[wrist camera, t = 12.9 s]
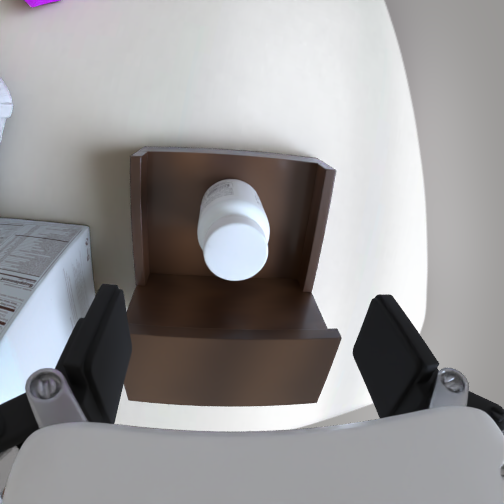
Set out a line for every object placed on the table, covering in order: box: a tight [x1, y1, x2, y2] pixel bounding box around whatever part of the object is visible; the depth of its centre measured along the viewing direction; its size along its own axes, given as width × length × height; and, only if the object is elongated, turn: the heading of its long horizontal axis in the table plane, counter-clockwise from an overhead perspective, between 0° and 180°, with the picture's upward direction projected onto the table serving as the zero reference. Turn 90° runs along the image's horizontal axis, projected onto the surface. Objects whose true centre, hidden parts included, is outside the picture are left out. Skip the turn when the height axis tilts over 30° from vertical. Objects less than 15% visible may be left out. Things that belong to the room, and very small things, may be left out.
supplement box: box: [0, 218, 95, 404], centre depth 20 cm, size 17×13×18 cm
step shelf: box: [124, 147, 341, 406], centre depth 23 cm, size 14×16×11 cm
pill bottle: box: [197, 179, 270, 281], centre depth 20 cm, size 4×4×8 cm
